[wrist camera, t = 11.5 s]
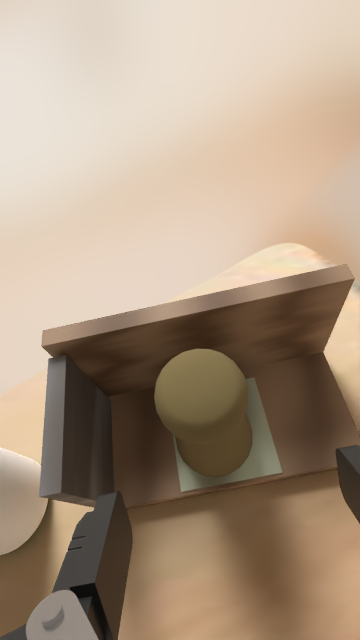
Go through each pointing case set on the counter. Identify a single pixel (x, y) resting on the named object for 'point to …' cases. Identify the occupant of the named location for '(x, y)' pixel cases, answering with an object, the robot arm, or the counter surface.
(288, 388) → the shelf
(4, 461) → the can
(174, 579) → the counter surface
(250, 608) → the counter surface
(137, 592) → the counter surface
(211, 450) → the cork
